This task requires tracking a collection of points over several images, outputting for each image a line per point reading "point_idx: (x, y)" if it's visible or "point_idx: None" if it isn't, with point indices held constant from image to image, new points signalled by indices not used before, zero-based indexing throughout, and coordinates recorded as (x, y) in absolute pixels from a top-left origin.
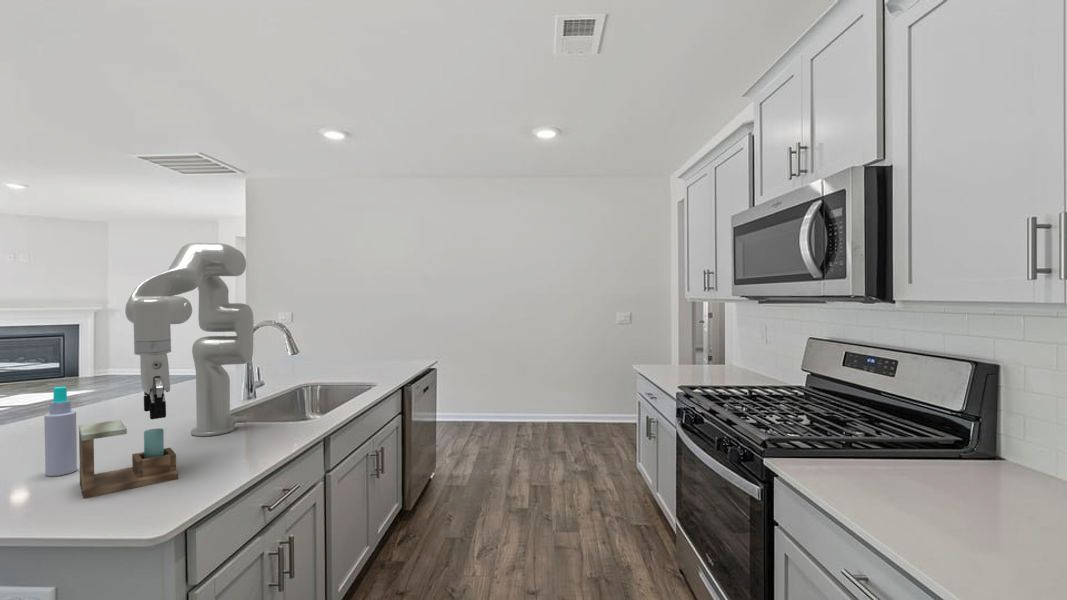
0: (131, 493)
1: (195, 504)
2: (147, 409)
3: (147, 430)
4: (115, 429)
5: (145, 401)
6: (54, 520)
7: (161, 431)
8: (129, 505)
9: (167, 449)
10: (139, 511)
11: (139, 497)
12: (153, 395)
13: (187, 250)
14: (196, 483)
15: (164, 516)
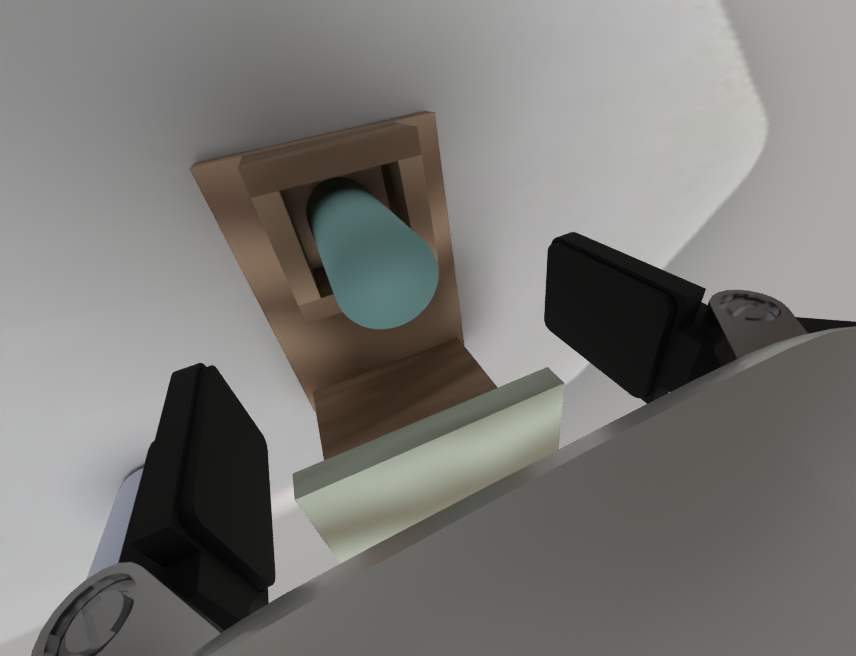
0: (488, 245)
1: (694, 54)
2: (260, 439)
3: (363, 318)
4: (539, 422)
5: (267, 526)
6: (556, 346)
7: (415, 234)
8: (575, 230)
9: (283, 180)
10: (628, 200)
11: (535, 218)
12: (218, 555)
13: None
14: (521, 36)
15: (699, 138)
